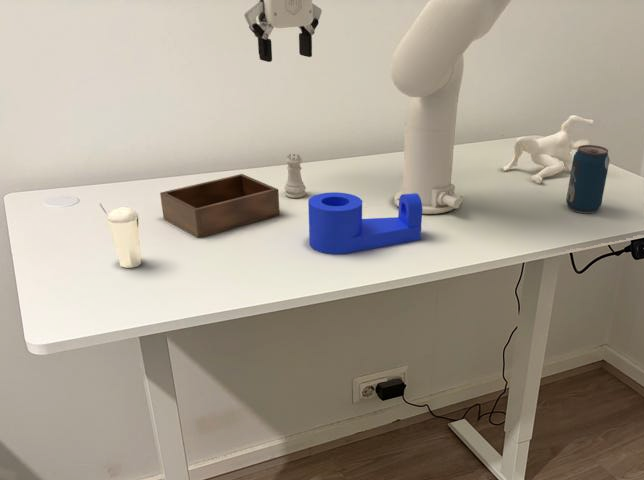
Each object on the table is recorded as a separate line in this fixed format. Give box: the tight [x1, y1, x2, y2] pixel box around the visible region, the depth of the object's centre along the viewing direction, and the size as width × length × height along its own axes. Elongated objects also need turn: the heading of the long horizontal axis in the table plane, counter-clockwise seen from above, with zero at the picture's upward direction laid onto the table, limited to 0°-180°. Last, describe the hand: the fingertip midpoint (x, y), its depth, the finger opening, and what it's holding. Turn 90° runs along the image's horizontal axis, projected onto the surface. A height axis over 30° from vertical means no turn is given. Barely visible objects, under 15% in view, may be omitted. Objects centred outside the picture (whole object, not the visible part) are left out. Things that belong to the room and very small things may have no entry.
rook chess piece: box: [283, 153, 307, 199], centre depth 146 cm, size 4×4×8 cm
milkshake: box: [99, 203, 142, 269], centre depth 114 cm, size 4×5×10 cm
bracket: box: [307, 191, 423, 255], centre depth 127 cm, size 20×9×8 cm, turn 111°
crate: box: [159, 173, 281, 239], centre depth 135 cm, size 18×12×5 cm, turn 135°
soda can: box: [565, 144, 610, 214], centre depth 145 cm, size 7×7×12 cm
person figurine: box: [502, 114, 595, 184], centre depth 165 cm, size 13×13×18 cm
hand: (286, 58), depth 143 cm, fingers open, 9 cm apart
